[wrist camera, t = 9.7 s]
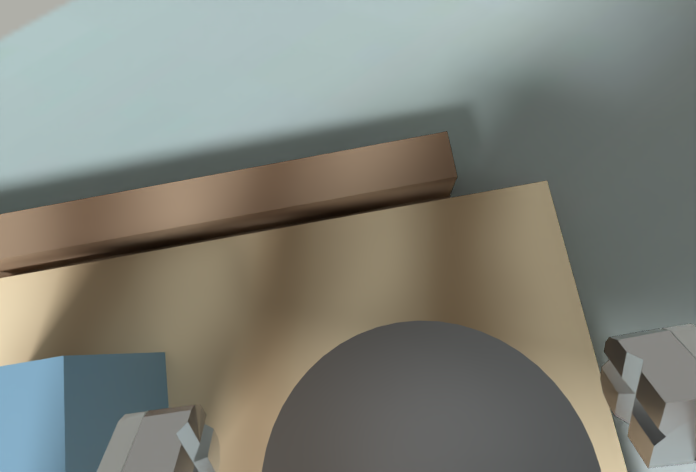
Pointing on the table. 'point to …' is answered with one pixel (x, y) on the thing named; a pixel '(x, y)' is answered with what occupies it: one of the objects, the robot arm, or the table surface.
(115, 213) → the track
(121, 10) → the table surface
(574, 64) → the table surface
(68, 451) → the cube
